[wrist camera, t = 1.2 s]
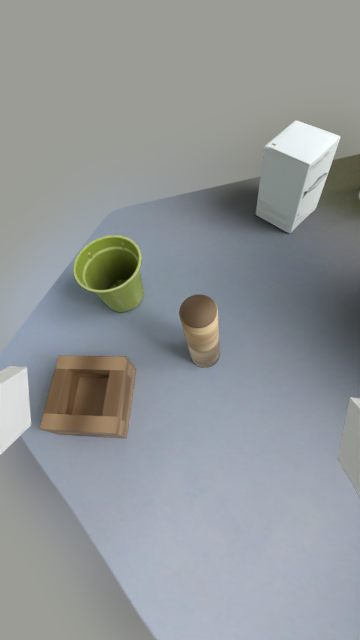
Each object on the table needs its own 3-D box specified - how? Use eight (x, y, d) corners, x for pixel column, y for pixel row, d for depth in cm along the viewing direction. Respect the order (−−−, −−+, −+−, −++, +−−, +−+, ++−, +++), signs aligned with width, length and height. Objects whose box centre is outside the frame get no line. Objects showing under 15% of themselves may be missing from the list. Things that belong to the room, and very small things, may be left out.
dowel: (219, 340, 43) (217, 293, 32) (219, 367, 41) (217, 327, 30) (191, 340, 43) (180, 294, 33) (189, 367, 42) (177, 327, 31)
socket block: (136, 369, 42) (125, 356, 38) (126, 438, 38) (113, 433, 34) (75, 368, 44) (58, 355, 39) (59, 434, 40) (39, 428, 35)
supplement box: (290, 235, 50) (309, 165, 39) (254, 215, 53) (262, 144, 42) (317, 209, 52) (342, 135, 40) (281, 191, 55) (295, 117, 44)
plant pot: (163, 279, 49) (152, 242, 41) (139, 329, 45) (121, 299, 38) (113, 266, 52) (94, 229, 44) (86, 313, 48) (60, 281, 40)
